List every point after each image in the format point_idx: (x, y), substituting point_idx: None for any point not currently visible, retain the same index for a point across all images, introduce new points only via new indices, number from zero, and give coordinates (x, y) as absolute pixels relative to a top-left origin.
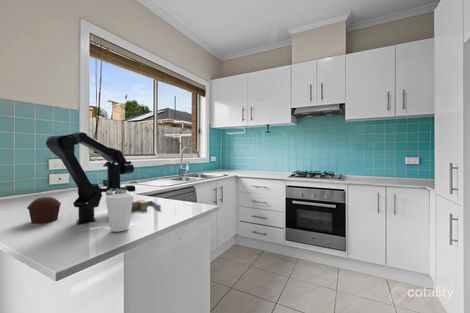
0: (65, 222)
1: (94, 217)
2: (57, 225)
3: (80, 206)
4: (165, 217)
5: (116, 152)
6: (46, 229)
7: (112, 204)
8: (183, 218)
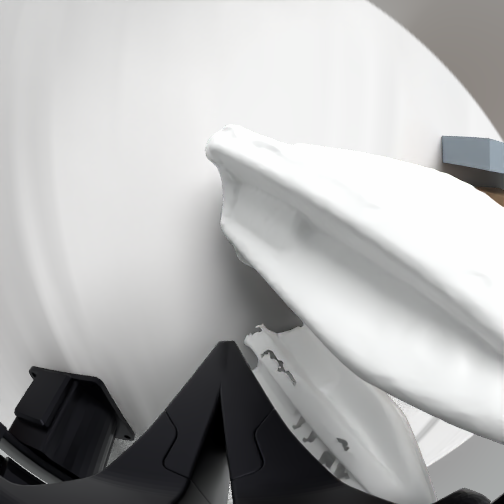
0: (4, 365)
1: (98, 387)
2: (8, 389)
3: (32, 472)
4: (430, 444)
5: None
6: (12, 411)
7: None
8: (448, 450)
